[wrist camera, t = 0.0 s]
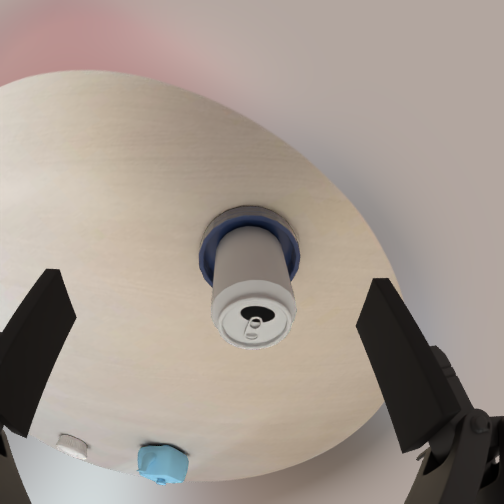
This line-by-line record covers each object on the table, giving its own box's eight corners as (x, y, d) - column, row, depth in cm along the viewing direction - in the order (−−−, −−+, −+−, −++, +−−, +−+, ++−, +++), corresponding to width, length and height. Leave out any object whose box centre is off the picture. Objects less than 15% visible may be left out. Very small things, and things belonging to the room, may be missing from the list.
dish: (200, 204, 31) (197, 214, 29) (302, 208, 32) (306, 218, 30) (202, 286, 37) (200, 299, 35) (289, 288, 38) (292, 300, 36)
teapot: (160, 434, 61) (156, 474, 52) (196, 456, 71) (195, 490, 61) (124, 436, 63) (118, 472, 54) (162, 458, 72) (159, 489, 63)
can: (290, 230, 33) (313, 301, 23) (270, 283, 37) (283, 360, 27) (223, 215, 32) (218, 285, 22) (210, 272, 36) (203, 349, 25)
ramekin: (94, 449, 73) (91, 462, 68) (68, 443, 72) (65, 455, 68) (80, 437, 67) (77, 450, 63) (53, 429, 66) (49, 442, 62)
